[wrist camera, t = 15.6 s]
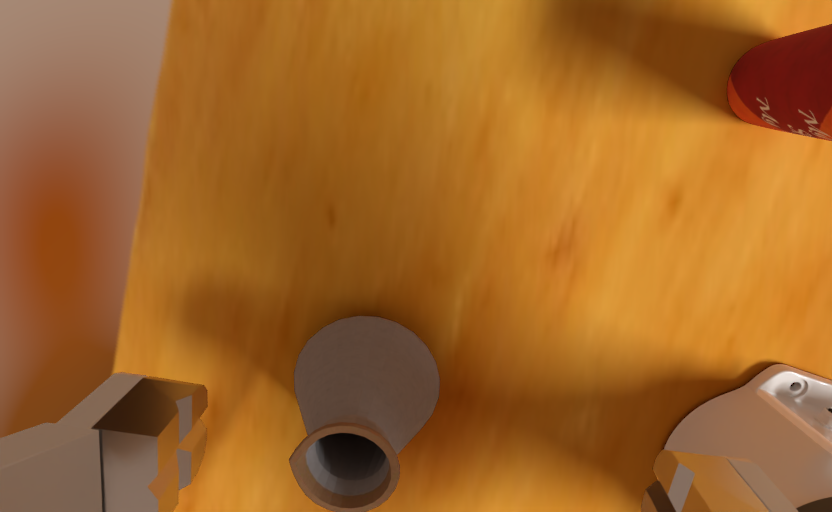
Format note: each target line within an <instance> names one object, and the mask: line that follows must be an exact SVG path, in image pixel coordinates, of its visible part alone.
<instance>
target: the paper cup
mask: <svg viewBox="0 0 832 512" xmlns="http://www.w3.org/2000/svg"><path fill="white" fill-rule="evenodd" d="M727 98H728V102H729V105H730V107H731V109H732V110H733V112H734V113H735V114H736V115H737V116H738V117H739V118H740V119H742V120H743V121H745V122H748V123H750V124H753V125H757V126H761V127H765V128H770V129H774V130H779V131H784V132H789V133H794V134H799V135H804V136H809V137H814V138H819V139H824V140H829V141H832V24H830V25H826V26H822V27H819V28H815V29H811V30H807V31H804V32H800V33H796V34H793V35H789V36H785V37H782V38H778V39H775V40H771V41H768V42H765V43H763V44H760V45H758V46H756V47H754V48H752V49H751V50H749V51H748V52H747V53H745V54H744V55H743V56H742V57H741V58H740V59H739V60H738V62H737V63H736V64H735V66H734V68H733V69H732V71H731V74H730V76H729V80H728V84H727Z"/></svg>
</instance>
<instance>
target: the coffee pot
mask: <svg viewBox="0 0 832 512" xmlns="http://www.w3.org/2000/svg"><path fill="white" fill-rule="evenodd" d="M439 388H440V377H439V373H438V369H437V365H436V361H435V360H434V358H433V356H432V354H431V352H430V351H429V349H428V347H427V345H426V344H425V343H424V342H423V341H422V340H421V339H420V338H419V337H418V336H417V335H416V334H415V333H414V332H412V331H411V330H409V329H407V328H405V327H404V326H402V325H400V324H399V323H397V322H395V321H391V320H388V319H385V318H381V317H375V316H355V317H349V318H344V319H339V320H337V321H335V322H333V323H331V324H329V325H327V326H325V327H323V328H322V329H321V330H319V331H318V332H317V333H316V334H315V335H314V336H313V337H311V338H310V339H309V340H308V341H307V343H306V345H305V346H304V348H303V349H302V351H301V352H300V354H299V356H298V360H297V363H296V367H295V371H294V389H295V394H296V397H297V400H298V404H299V407H300V411H301V414H302V417H303V421H304V424H305V427H306V431H307V434H308V436H307V437H306V438H305V439H304V440H303V441H302V442H301V443H300V444H299V446H298V447H297V448H296V449H295V451H294V452H293V454H292V455H291V457H290V458H289V462H290V465H291V468H292V471H293V474H294V476H295V478H296V480H297V482H298V484H299V486H300V487H301V489H302V490H303V492H304V493H305V495H306V496H308V497H309V498H310V499H311V500H312V501H313V502H315V503H316V504H318V505H320V506H322V507H324V508H325V509H328V510H331V511H335V512H366V511H369V510H371V509H373V508H376V507H378V506H379V505H381V504H382V503H383V502H385V501H386V500H387V499H388V498H389V497H390V495H391V494H392V493H393V491H394V490H395V489H396V486H397V483H398V480H399V477H400V465H399V461H398V457H397V455H398V453H399V452H400V451H401V450H402V449H403V448H404V447H405V446H406V445H407V444H408V443H409V441H410V440H411V439H412V438H413V437H414V436H415V435H416V434H417V433H418V432H419V431H420V429H421V428H422V427H423V426H424V425H425V423H426V422H427V421H428V419H429V418H430V417H431V415H432V414H433V411H434V408H435V406H436V403H437V400H438V398H439Z"/></svg>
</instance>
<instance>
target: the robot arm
mask: <svg viewBox="0 0 832 512" xmlns="http://www.w3.org/2000/svg"><path fill="white" fill-rule="evenodd" d="M794 382H795V384H794V385H793V386H791V384H792V383H794ZM790 386H791V387H790ZM207 407H208V400H207V389H206V387H205V386H204V385H201V384H195V383H189V382H183V381H176V380H170V379H164V378H158V377H151V376H149V377H148V376H146V375H139V374H131V373H123V372H121V373H114V374H113V375H112V376H111V377H109V378H108V379H107V380H106V381H105V382H104V383H103V384H101V385H100V386H99V387H98V388H97V389H96V390H95V391H93V392H92V393H91V394H90V395H89V396H88V397H86V398H85V399H84V400H83V401H82V402H80V403H79V404H78V405H77V406H76V407H75V408H74V409H72V410H71V411H70V412H69V413H68V414H67V415H65V416H64V417H63V418H62V419H61V420H60V421H58V422H57V423H56V424H51V423H44V424H41V425H38V426H35V427H32V428H29V429H26V430H24V431H20V432H18V433H15V434H12V435H9V436H6V437H3V438H0V512H173V511H174V509H175V508H176V506H177V505H178V498H179V490H180V489H182V488H184V487H186V486H187V485H189V484H191V482H192V481H193V479H194V477H195V476H196V474H197V472H198V470H199V467H200V465H201V462H202V459H203V456H204V453H205V447H206V441H207V428H206V426H205V425H204V424H203V422H202V421H201V419H200V417H201V415H202V414H203V413H204V411H205V410H206V408H207ZM653 471H654V473H655V475H656V477H657V481H656V482H654V483H653V484H652V485H651V486H649V487H648V488H647V489H646V490H645V494H644V497H643V501H642V505H641V512H832V381H831V380H829V379H826V378H823V377H820V376H817V375H814V374H811V373H808V372H805V371H802V370H799V369H796V368H794V367H791V366H788V365H784V364H776V365H772V366H770V367H768V368H767V369H765V370H763V371H762V372H761V373H759V374H758V375H757V376H756V377H754V378H753V379H752V380H751V381H750V382H748V383H747V384H746V385H744V386H743V387H741V388H738V389H736V390H734V391H731V392H728V393H726V394H723V395H720V396H718V397H716V398H713V399H711V400H709V401H708V402H706V403H704V404H702V405H701V406H699V407H698V408H696V409H695V410H694V411H692V412H691V413H690V414H689V415H688V416H686V417H685V418H684V419H683V420H682V421H681V422H680V423H679V425H678V426H677V427H676V428H675V430H674V431H673V432H672V434H671V435H670V437H669V439H668V441H667V443H666V445H665V447H664V450H662V451H661V452H660V453H659V454H658V456H657V457H656V460H655V463H654V466H653Z"/></svg>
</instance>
